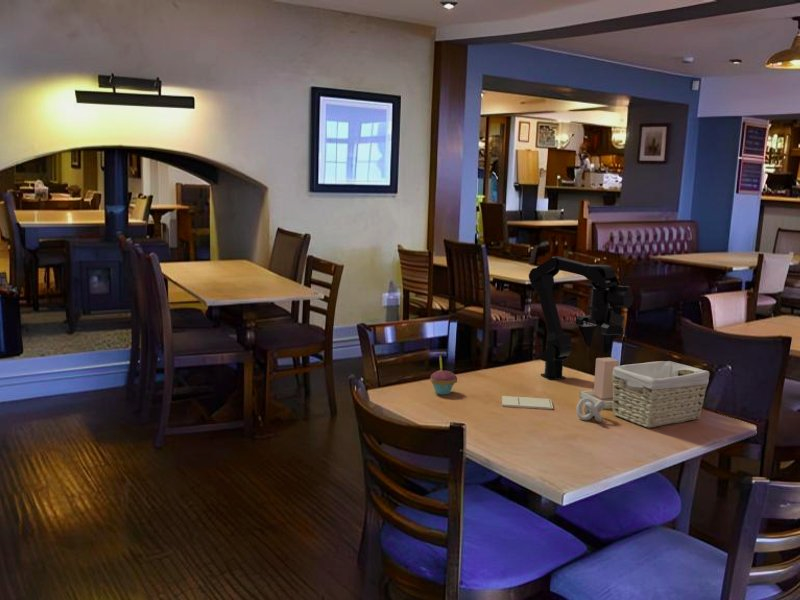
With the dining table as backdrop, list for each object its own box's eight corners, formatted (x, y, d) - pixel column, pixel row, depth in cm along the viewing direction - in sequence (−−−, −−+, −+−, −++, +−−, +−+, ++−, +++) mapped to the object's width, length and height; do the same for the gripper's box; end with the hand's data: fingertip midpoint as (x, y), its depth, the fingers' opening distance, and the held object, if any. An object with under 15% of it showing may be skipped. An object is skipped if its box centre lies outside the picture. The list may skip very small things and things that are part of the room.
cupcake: (424, 391, 226) (425, 355, 224) (442, 387, 231) (444, 351, 230) (443, 398, 219) (444, 360, 218) (462, 393, 225) (463, 356, 223)
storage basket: (663, 405, 219) (667, 358, 216) (708, 420, 205) (713, 371, 202) (606, 414, 207) (610, 366, 205) (649, 432, 193) (654, 379, 191)
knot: (610, 424, 199) (611, 404, 198) (582, 424, 198) (584, 404, 197) (600, 416, 206) (601, 396, 205) (573, 416, 205) (575, 396, 204)
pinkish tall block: (592, 398, 221) (595, 358, 219) (606, 397, 223) (609, 357, 221) (601, 403, 217) (604, 361, 215) (615, 401, 218) (618, 360, 216)
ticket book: (502, 397, 221) (502, 395, 221) (550, 400, 220) (550, 398, 219) (502, 406, 213) (502, 404, 212) (553, 409, 211) (553, 407, 211)
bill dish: (579, 397, 224) (579, 391, 223) (606, 395, 227) (606, 389, 227) (601, 409, 212) (602, 402, 212) (629, 406, 216) (630, 400, 215)
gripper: (639, 307, 224) (635, 355, 227) (604, 298, 242) (601, 343, 244) (609, 308, 221) (606, 357, 223) (576, 299, 238) (573, 344, 240)
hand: (597, 350), depth 233 cm, fingers open, 9 cm apart
